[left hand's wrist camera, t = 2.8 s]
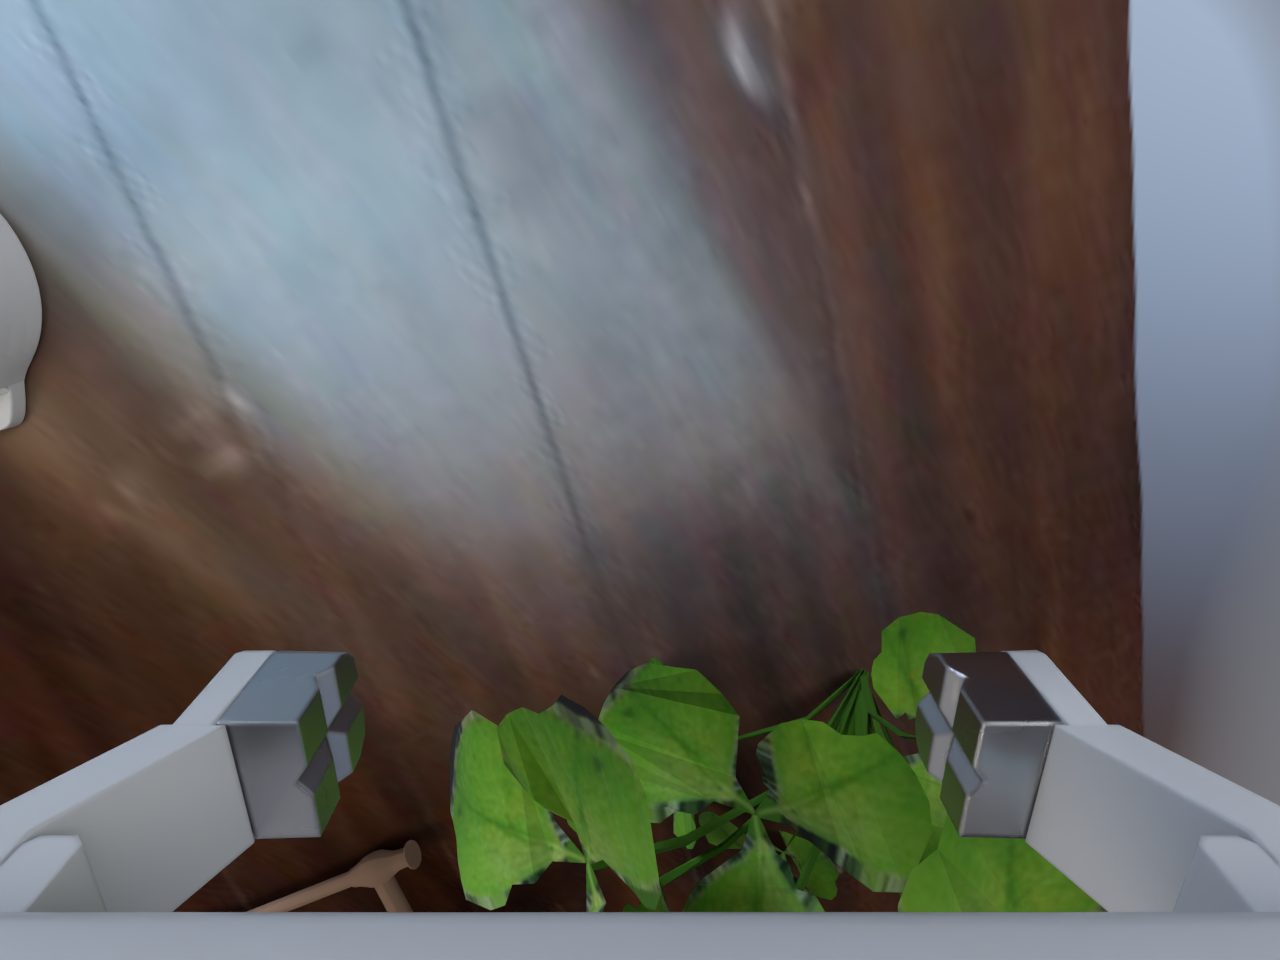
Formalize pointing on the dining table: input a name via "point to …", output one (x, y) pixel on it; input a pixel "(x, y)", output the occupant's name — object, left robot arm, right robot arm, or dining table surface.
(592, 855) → the indoor plant
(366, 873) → the toilet paper hanger
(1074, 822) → the left robot arm
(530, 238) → the dining table surface
